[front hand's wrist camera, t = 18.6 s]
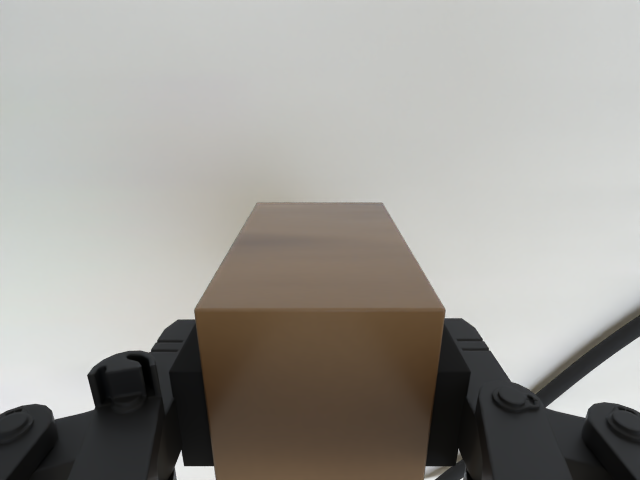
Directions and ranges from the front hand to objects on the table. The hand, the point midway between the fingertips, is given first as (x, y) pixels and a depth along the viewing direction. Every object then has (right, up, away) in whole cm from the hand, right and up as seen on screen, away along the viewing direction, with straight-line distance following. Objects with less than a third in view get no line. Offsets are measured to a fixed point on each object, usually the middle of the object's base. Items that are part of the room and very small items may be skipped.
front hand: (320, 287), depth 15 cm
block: (0, +1, +1) cm, 1 cm away
